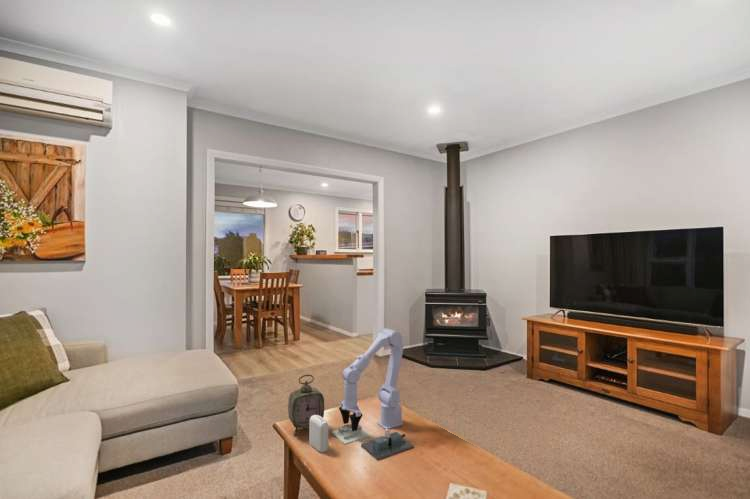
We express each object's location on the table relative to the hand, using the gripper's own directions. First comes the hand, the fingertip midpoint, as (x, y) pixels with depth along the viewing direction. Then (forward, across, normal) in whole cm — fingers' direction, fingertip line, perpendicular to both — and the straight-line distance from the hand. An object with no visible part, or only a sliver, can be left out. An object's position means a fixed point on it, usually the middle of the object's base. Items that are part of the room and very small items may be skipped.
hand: (350, 426), depth 165 cm
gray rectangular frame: (+3, 0, 0) cm, 3 cm away
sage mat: (+3, 0, 0) cm, 4 cm away
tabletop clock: (+4, -14, -15) cm, 21 cm away
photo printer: (+4, +2, -16) cm, 17 cm away
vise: (+3, +17, +8) cm, 19 cm away
